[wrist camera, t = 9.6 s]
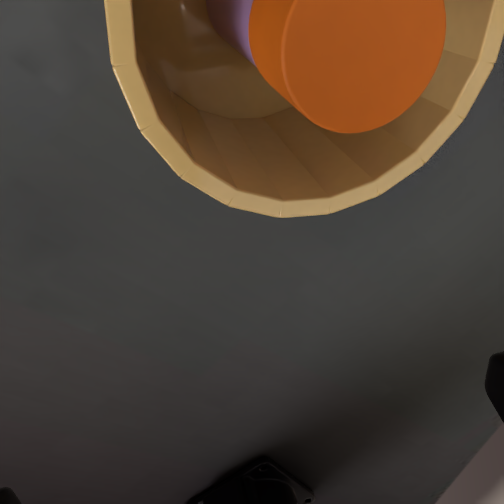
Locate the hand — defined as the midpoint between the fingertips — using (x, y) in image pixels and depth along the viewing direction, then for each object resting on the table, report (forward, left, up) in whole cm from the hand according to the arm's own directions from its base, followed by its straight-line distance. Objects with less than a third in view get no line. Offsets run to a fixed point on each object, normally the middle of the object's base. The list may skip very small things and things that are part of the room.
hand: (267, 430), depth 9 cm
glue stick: (+4, -5, -12) cm, 13 cm away
